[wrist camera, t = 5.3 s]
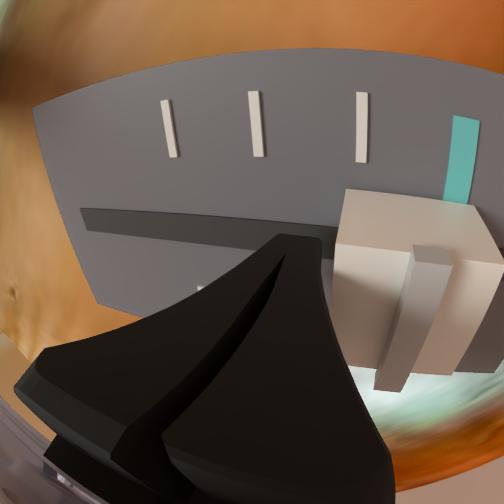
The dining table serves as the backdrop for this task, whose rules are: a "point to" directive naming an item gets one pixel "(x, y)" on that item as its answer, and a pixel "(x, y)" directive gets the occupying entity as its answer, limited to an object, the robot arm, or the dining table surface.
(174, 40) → the dining table surface
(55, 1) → the dining table surface
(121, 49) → the dining table surface
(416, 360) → the fader tab
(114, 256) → the console
